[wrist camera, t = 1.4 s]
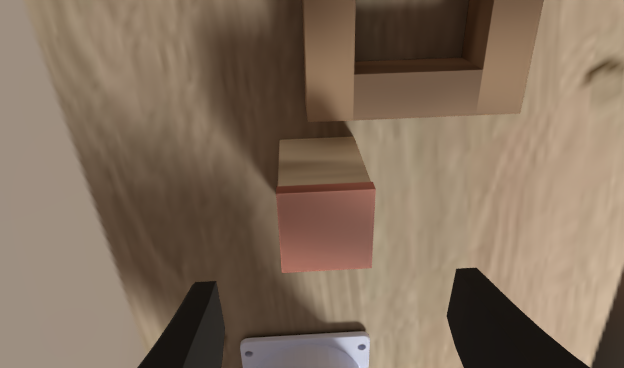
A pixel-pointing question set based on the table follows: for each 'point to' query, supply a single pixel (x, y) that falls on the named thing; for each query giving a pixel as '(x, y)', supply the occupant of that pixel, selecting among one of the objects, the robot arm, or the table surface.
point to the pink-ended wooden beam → (324, 205)
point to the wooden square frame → (418, 66)
